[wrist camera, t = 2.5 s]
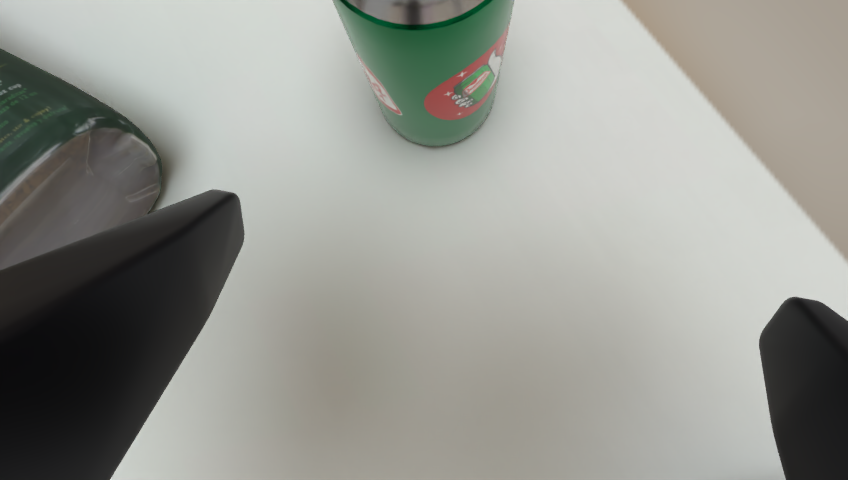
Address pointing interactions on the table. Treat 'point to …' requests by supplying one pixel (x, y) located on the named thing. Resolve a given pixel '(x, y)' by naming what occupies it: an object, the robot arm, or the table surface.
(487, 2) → the soda can
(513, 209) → the table surface
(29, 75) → the coffee jar
